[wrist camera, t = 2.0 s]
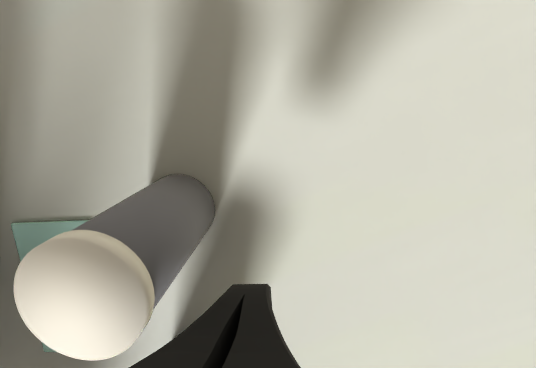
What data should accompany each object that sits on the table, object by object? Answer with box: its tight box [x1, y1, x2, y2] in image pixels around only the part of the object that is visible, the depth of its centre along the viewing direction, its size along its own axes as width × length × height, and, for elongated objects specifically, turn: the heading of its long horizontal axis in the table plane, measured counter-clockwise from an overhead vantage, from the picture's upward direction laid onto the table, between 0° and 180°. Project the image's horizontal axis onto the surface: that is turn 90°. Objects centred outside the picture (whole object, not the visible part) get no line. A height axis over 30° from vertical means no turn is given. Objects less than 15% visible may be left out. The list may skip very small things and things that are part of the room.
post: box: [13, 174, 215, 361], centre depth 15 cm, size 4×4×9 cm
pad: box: [11, 220, 88, 352], centre depth 21 cm, size 9×5×1 cm, turn 4°
